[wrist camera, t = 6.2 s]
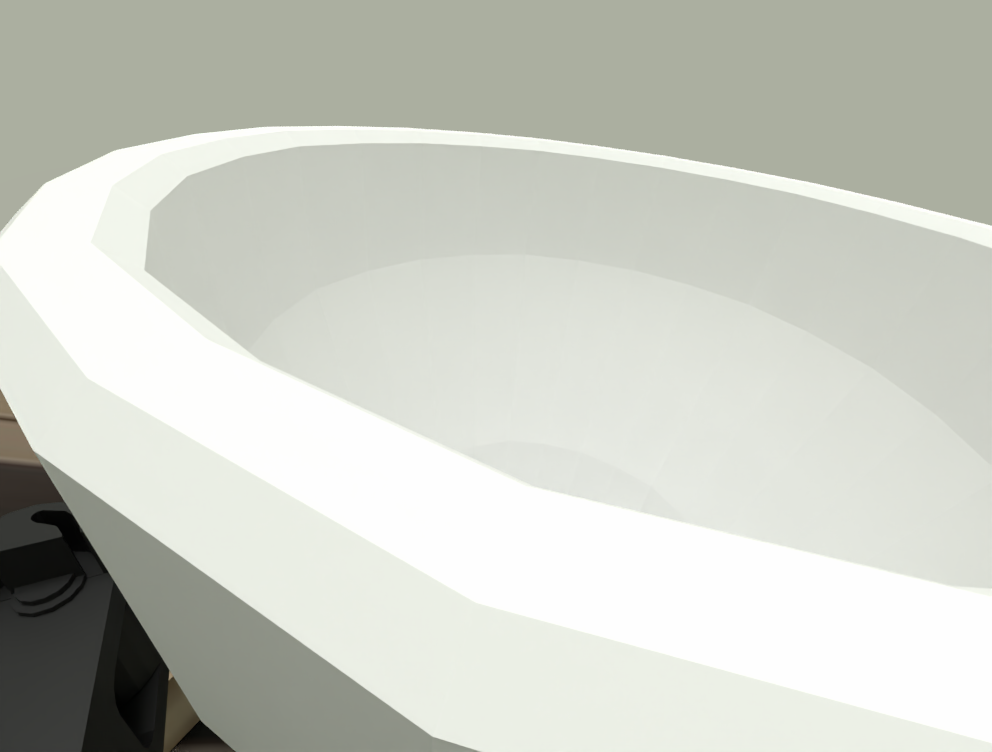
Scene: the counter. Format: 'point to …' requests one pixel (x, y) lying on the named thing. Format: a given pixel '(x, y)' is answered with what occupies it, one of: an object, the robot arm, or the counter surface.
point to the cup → (518, 441)
